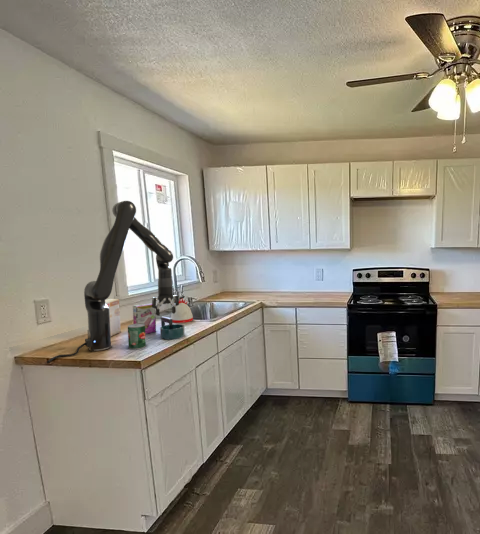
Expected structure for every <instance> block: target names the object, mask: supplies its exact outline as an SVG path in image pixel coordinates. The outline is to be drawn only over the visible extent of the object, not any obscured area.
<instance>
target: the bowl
mask: <svg viewBox="0 0 480 534" xmlns="http://www.w3.org/2000/svg"><path fill="white" fill-rule="evenodd" d="M172 324H173V329H169V324H165V326H162V327H161V326H160V327H159V330H160V331H159V332H160V338H161V339H163V340H177V339H180V338H182V337H184V336H186V332H185V331H186V330H185V329H186V328H185V325H184V324H183V323H182V324H181V323H172Z"/></svg>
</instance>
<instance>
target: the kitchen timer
mask: <svg viewBox="0 0 480 534" xmlns="http://www.w3.org/2000/svg"><path fill="white" fill-rule="evenodd" d="M170 318H172V321H173V323H172V324H181V323H182V324H183V323H190V322H192V321H193V320H194V316H193V313H192V310H191V308H190V306H189V305H188V300H186V299H184V298H183V297H181V298H179V305H177V306H176V312H175V313H174V314H173V313H172V312H171V315H170Z"/></svg>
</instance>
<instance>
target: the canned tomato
mask: <svg viewBox="0 0 480 534" xmlns="http://www.w3.org/2000/svg"><path fill="white" fill-rule="evenodd" d="M146 338H147V337H146V334H145V324H143V323H137V324H133V323H132V324H128V325H127V343H128V349H129V350H140V349H144V348H146V347H147V343H146V342H147V339H146Z"/></svg>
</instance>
